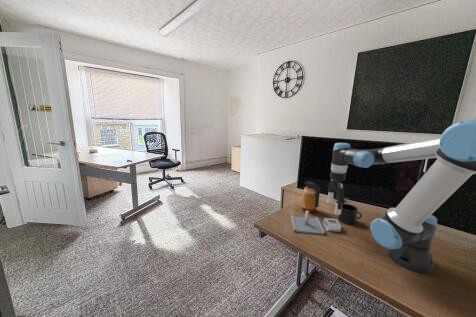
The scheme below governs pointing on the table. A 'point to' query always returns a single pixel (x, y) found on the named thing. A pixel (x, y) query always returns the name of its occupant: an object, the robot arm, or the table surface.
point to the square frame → (332, 224)
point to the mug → (349, 214)
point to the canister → (311, 197)
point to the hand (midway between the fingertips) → (333, 208)
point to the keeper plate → (305, 227)
